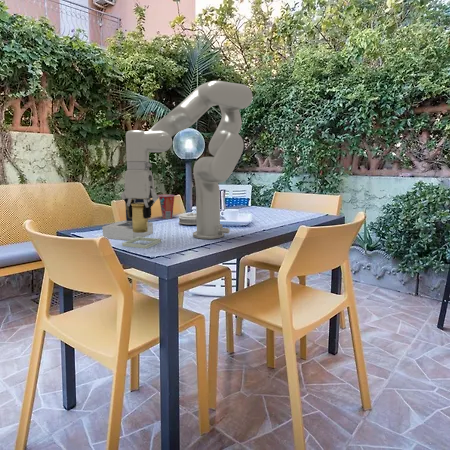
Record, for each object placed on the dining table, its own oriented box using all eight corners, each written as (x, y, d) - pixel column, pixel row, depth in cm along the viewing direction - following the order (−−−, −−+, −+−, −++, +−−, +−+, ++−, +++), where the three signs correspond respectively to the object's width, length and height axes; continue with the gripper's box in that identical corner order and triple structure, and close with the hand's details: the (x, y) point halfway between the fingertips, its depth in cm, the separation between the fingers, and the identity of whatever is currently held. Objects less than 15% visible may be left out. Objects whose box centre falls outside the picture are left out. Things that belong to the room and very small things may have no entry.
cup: (167, 216, 191) (166, 193, 188) (178, 217, 186) (178, 194, 183) (154, 218, 183) (153, 195, 181) (166, 220, 178) (165, 196, 176)
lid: (174, 225, 166) (173, 215, 165) (186, 220, 178) (186, 211, 177) (198, 227, 162) (198, 216, 161) (209, 222, 173) (209, 212, 172)
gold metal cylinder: (151, 230, 130) (151, 203, 128) (142, 233, 124) (141, 205, 122) (138, 228, 132) (137, 202, 130) (128, 231, 126) (127, 203, 124)
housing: (153, 234, 147) (152, 222, 146) (133, 241, 134) (132, 229, 133) (124, 231, 151) (124, 220, 150) (103, 239, 139) (102, 226, 138)
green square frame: (161, 243, 132) (161, 238, 132) (146, 249, 123) (146, 245, 122) (138, 240, 135) (138, 236, 135) (122, 247, 126) (122, 242, 126)
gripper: (165, 166, 124) (166, 217, 127) (124, 166, 130) (126, 214, 133) (153, 167, 117) (155, 220, 120) (111, 166, 123) (113, 217, 126)
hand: (140, 216), depth 127 cm, fingers closed on gold metal cylinder, 5 cm apart
